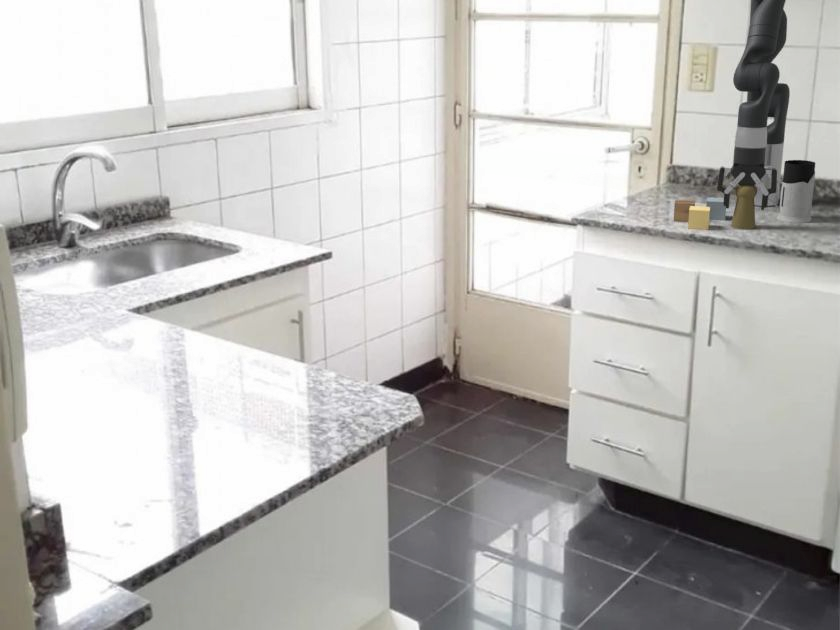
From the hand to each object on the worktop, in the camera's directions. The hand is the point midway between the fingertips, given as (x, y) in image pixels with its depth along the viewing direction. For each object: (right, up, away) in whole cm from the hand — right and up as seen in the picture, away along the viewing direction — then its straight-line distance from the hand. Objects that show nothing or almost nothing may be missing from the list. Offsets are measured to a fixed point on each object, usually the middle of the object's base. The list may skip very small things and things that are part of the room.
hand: (744, 208), depth 254 cm
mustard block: (-11, -5, +2) cm, 12 cm away
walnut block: (-13, -2, +10) cm, 17 cm away
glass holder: (+13, -2, +10) cm, 17 cm away
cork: (0, -5, +2) cm, 5 cm away
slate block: (-4, -1, +12) cm, 13 cm away
